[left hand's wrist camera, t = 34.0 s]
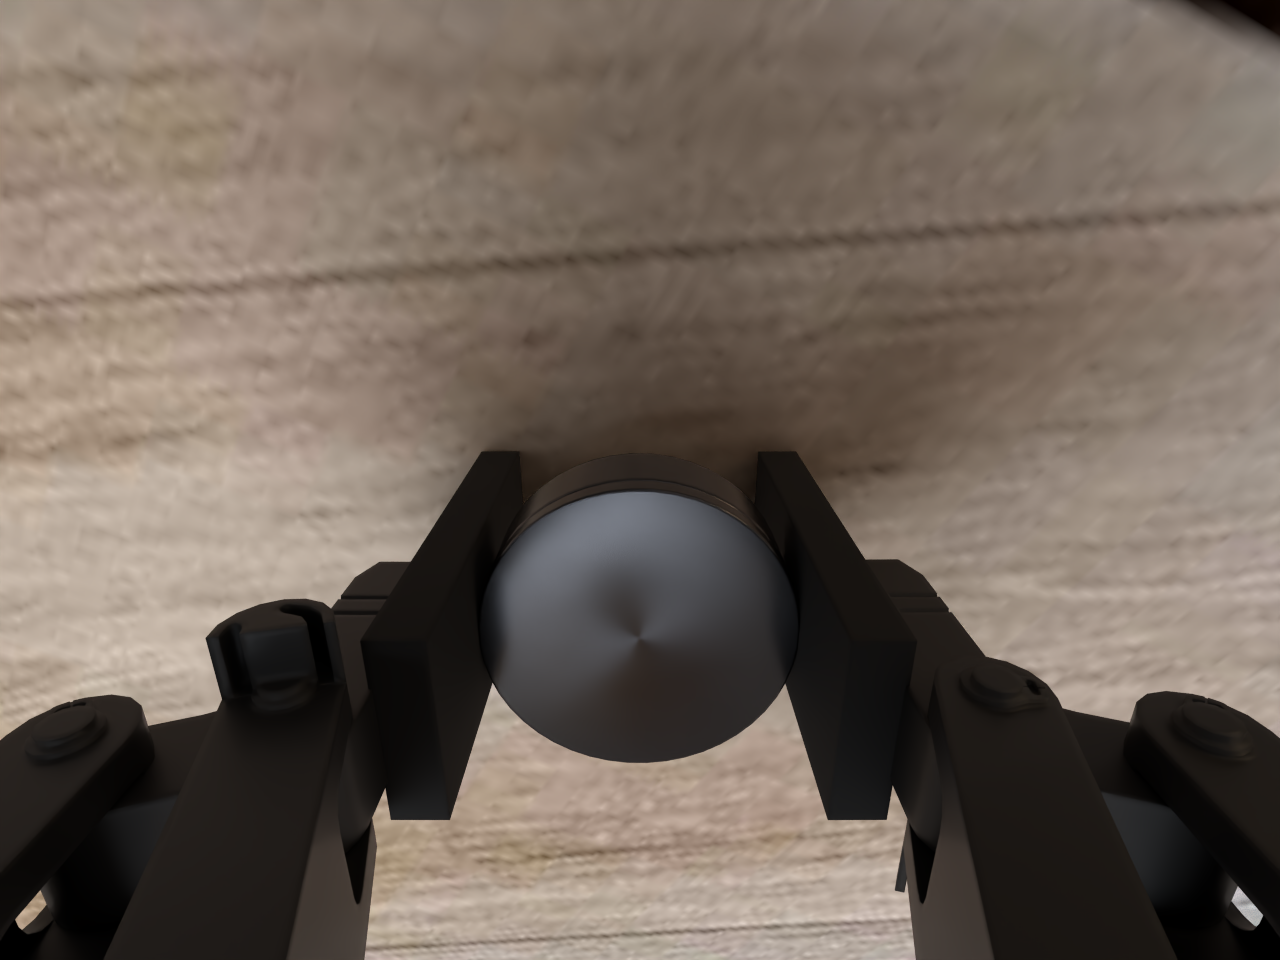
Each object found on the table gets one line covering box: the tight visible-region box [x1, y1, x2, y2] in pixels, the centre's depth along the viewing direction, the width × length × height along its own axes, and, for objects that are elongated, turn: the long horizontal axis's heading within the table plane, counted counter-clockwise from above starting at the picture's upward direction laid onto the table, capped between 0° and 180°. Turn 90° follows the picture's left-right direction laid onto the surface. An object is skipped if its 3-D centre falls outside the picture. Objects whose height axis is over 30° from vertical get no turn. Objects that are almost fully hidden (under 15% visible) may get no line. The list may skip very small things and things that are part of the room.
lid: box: [478, 453, 800, 763], centre depth 11 cm, size 5×5×2 cm
